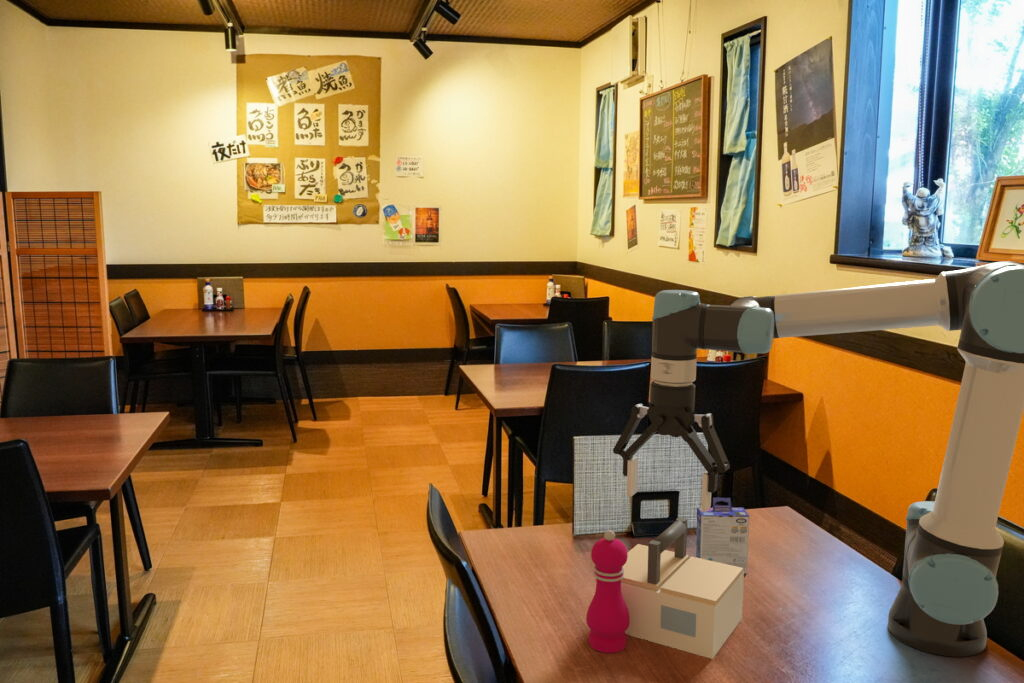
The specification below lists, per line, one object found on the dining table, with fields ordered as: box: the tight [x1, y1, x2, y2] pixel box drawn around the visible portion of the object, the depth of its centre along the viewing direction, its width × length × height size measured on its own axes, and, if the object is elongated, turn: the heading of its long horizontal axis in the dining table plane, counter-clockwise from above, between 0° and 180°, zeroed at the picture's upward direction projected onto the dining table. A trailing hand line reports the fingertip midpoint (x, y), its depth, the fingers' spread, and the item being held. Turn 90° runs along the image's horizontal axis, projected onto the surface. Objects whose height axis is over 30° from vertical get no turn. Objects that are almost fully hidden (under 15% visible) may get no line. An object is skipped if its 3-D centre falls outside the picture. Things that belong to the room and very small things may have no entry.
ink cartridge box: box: [695, 497, 750, 575], centre depth 171 cm, size 10×6×14 cm, turn 89°
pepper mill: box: [585, 529, 630, 654], centre depth 141 cm, size 7×7×20 cm
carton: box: [621, 556, 745, 660], centre depth 149 cm, size 20×16×10 cm
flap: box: [621, 516, 690, 591], centre depth 150 cm, size 10×15×8 cm, turn 148°
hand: (667, 501), depth 147 cm, fingers open, 13 cm apart
